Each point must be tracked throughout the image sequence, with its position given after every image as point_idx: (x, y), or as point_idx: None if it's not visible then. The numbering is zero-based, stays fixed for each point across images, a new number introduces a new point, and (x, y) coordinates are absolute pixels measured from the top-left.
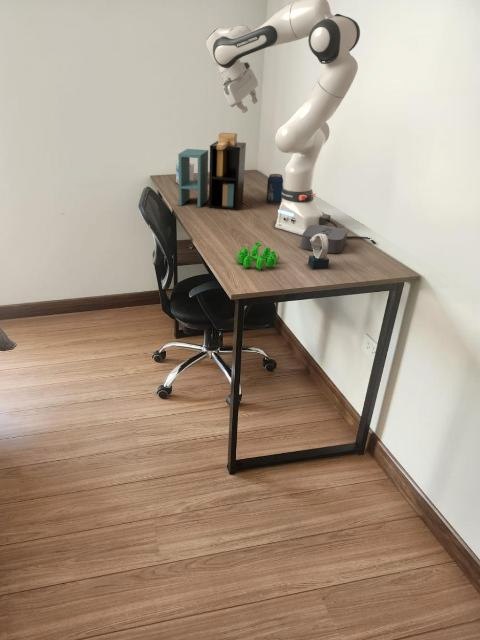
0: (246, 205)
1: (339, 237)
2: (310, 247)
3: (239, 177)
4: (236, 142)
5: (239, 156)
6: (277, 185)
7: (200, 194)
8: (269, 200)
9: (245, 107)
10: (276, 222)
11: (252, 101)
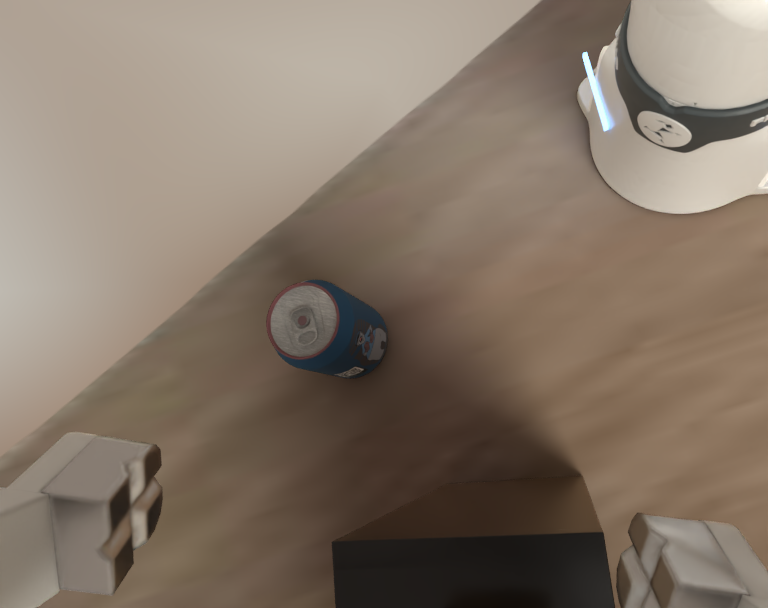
0: (463, 455)
1: None
2: None
3: (556, 496)
4: None
5: (596, 518)
6: (355, 302)
7: None
8: (385, 351)
9: (732, 581)
10: (727, 201)
11: (130, 557)
